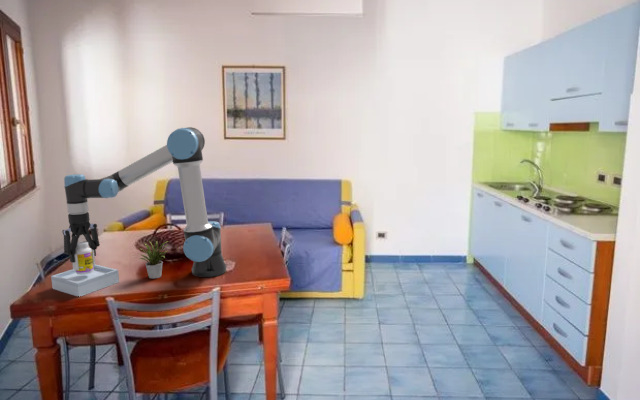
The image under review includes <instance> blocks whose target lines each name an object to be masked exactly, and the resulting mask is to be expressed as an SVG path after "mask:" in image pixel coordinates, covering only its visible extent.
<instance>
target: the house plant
mask: <svg viewBox="0 0 640 400" xmlns="http://www.w3.org/2000/svg"><path fill="white" fill-rule="evenodd" d="M158 242H159V241H158V240H156V241H155V245H153V243H152V242H151V241H150V240H149V244H150V245H151V246H150V245H149V244H147V243H146V242H144V245H145V247H146V249H144V250H143V249H142V248H140V247H137V246H136V248H138V249H140V250H141V251H143V252H144V253H145V254H146V255H144V254H141V258H139V260H143V261H146V262H145V267H146V271H147V274H148V278H149V279H159V278H162V274H163V273H162V271H163V263H164V262H163V261H162V260H164V259H166V255H165V254H166V253H167V252H168V250H165V251H164V252H163V250H164V249H165V248H166V247H168V246H169V245H167V244H166V243H168V242H169V241H168V240H167V241H164V242H163V243H162V244H160V246H159V243H158ZM165 244H166V245H165ZM162 257H163V258H162Z"/></svg>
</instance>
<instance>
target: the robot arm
mask: <svg viewBox="0 0 640 400" xmlns="http://www.w3.org/2000/svg"><path fill="white" fill-rule="evenodd" d="M205 144H206V140H205V136H204V134H203V132H201V131H200V129H198V128H196V127H192V126H191V127H180V128H176V129H175V130H173V131H172V132H171V133H169V135H168V137H167V140H166V144H165V145H164V146H162V147H160V148H158V149H156V150H155V151H153V152H151V153H149V154H147V155H145V156H144V157H142V158H140V159H138V160H136V161H134V162H133V163H131V164H129V165H127V166H125V167H123V168H122V169H120V170H117V171H115V172H114V173H112V174H110V175H107V176H106V177H105V176H104V177H102V178H96V179H87V178H86V175H85V174H82V173H79V174H78V173H77V174H76V173H74V174H68V175H65V176H64V178H63V180H64V181H63V182H64V190H65V191H64V192H65V199H66V207H67V208H66V209H67V213H68V215H67V217H68V223H69V226H68V228H66V229H63V230H62V235H63V253H64V254H65V255H68V256H69V261H70V263H72V269H74V270H79V266H78V258H77V254H75V252H76V247H77V242H79V239H80V236H82V235H83V237H84V239H85V241H87V242H88V247H89V248H91V250H92V259H93V265H95V264H96V259H95V257H96V256H97V252H96V250H97V249H98V247H100V240H99V236H98V231H97V228H98V224H97V223H90V214H89V211H90V210H89V203H88V199H110V198H115V197H116V196H118V194H119V193H120V192H121V191H123V190H124V189H126V188H127V187H129V186H131V185H132V184H135V183H136V182H139V181H140V180H142V179H144V178H146V177H148V176H150V175H152V174H153V173H155V172H157V171H159V170H161V169H163V168H164V167H167V166H168V165H170V164H171V163H172V164H173V165H174V166H175V167H176V168H177V171H178V178H179V184H180V190H181V197H182V203H183V210H184V215H185V216H184V217H185V223H186V225H185V227H184V228H183V234H184V240H185V241H184V242H183V247H182V248H183V253H184V255H185V256H186V258H188V259H189V260H191V261H192V262H193V264H192V267H191V274H192V275H193V276H195V277H197V278H198V277H200V278H213V277H218V276H221V275H223V274H225V273H226V272H227V270H226V269H227V264H226V262H225V259H224V257H223V253H222V252H223V251H222V235H221V229H222V228H221V225H220V224H221V223H220V222H218V221H213V220H212V221H211V220H210V221H209V220H208V213H207V206H206V199H205V191H204V185H203V179H202V171H201V163H202V162H203V161H204V159H203V157H204V156H203V153H202V152H203V149H204V148H205ZM89 229H90V231H89ZM225 271H226V272H225ZM224 272H225V273H224Z"/></svg>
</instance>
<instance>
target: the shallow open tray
mask: <svg viewBox="0 0 640 400" xmlns="http://www.w3.org/2000/svg"><path fill="white" fill-rule="evenodd" d="M93 268H94V270H93V272H91V273H89V274H84V275H79V274H77V273H76V270H74V269H73V268H72V269H68V270H65V271H63V272H60V273H56V274H52V275H50V279H51V285H52V289H53V290H54V291H58V292H62V293H65V294H68V295H72V296H74V297H78V296H79V297H78V298H80V296H81V297H82V296H85V295H88V294H91V293H94V292H96V291H99V290H102V289H104V288H107V287H110V286H113V285H115V284H118V283H120V276H119V269H117V268H111V267H108V266H104V265H99V264H96V263H95V265H93Z"/></svg>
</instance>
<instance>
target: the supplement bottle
mask: <svg viewBox="0 0 640 400" xmlns="http://www.w3.org/2000/svg"><path fill="white" fill-rule="evenodd" d="M75 254H77V258H78V266H79V270H76V273H77V274H79V275H84V274H89V273H91V272H93V270H94V268H93V259H92V250H91V248H90V247H89V245H88V242H87V241H86V240H81V241H78V242H77V247H76V252H75Z"/></svg>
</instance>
